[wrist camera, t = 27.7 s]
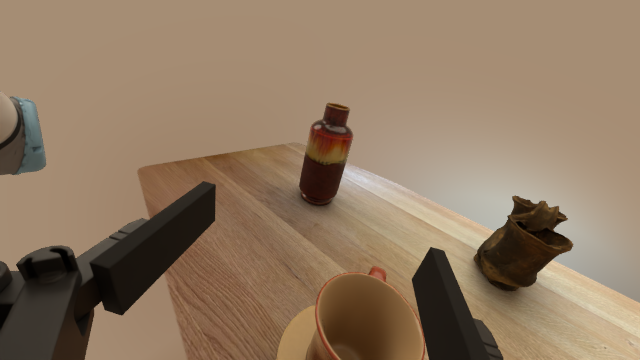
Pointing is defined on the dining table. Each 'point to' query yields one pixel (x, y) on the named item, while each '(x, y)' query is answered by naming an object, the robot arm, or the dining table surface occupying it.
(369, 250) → the dining table surface
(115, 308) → the robot arm
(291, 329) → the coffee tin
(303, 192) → the vase
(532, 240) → the pottery vessel
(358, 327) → the mug
